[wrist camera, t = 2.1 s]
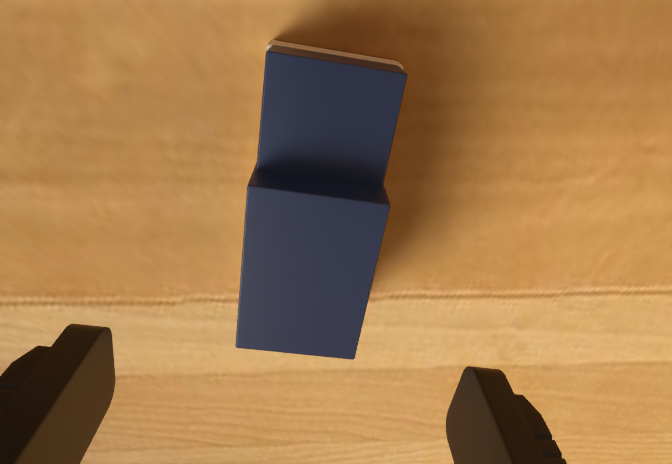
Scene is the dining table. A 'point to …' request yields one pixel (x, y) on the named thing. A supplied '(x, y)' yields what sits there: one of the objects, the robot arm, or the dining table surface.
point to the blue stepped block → (316, 199)
